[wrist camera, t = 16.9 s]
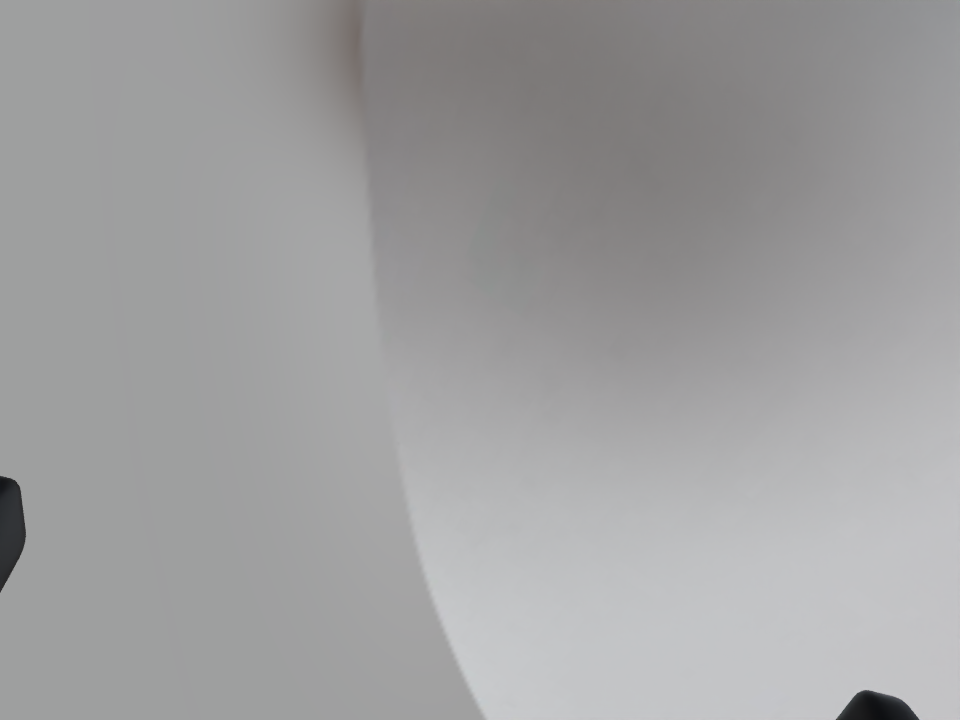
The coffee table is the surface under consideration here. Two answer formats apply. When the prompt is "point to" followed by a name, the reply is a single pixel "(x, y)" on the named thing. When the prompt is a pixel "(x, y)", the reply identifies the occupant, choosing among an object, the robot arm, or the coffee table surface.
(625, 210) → the coffee table surface
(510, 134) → the coffee table surface
